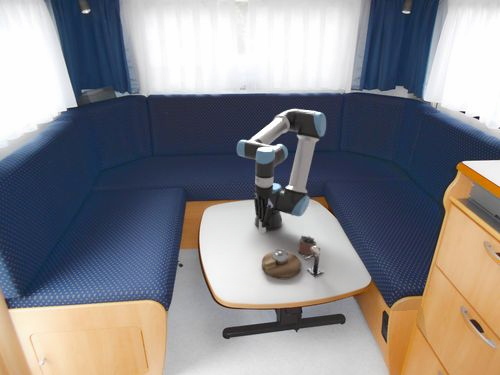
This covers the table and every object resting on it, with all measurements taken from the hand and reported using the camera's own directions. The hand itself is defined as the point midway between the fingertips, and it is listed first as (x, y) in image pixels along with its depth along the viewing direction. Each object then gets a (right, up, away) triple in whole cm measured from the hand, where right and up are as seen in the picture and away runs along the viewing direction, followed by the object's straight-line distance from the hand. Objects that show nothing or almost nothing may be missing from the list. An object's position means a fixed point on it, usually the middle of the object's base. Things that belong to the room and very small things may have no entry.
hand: (262, 232), depth 155 cm
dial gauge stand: (+23, -19, +2) cm, 30 cm away
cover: (+8, -14, +6) cm, 17 cm away
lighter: (+22, -13, +15) cm, 30 cm away
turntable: (+9, -17, +6) cm, 20 cm away
